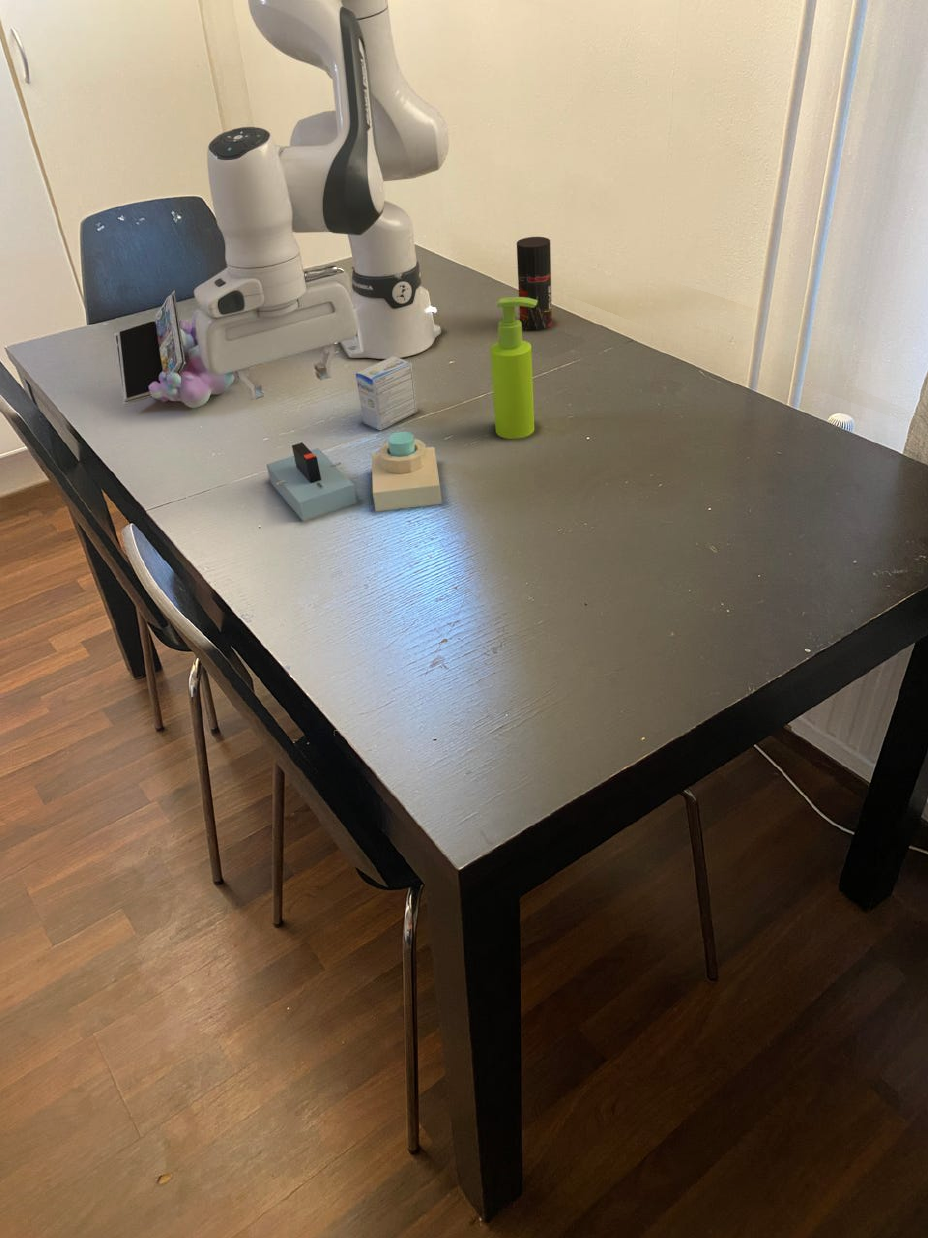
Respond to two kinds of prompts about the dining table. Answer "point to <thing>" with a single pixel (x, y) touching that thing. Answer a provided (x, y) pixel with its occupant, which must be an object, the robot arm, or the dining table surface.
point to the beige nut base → (405, 478)
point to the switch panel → (312, 487)
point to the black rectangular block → (306, 462)
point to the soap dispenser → (512, 374)
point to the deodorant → (535, 282)
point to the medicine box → (386, 392)
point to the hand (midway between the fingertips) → (290, 387)
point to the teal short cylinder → (401, 444)
